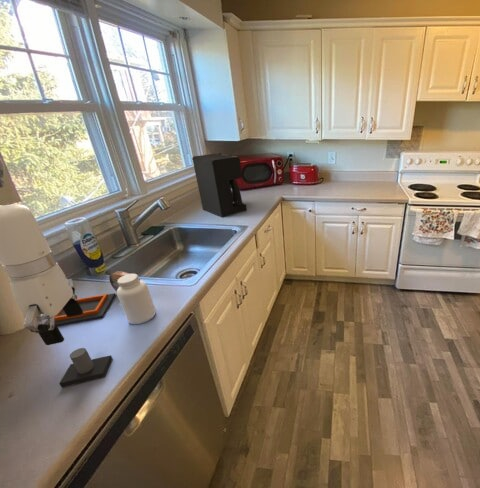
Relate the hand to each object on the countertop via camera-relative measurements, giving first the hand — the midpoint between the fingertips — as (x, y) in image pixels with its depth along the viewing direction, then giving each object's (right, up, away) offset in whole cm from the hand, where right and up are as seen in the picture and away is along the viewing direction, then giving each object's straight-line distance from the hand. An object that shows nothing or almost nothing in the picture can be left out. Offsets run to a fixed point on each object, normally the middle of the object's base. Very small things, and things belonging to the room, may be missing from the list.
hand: (66, 328), depth 65 cm
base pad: (-21, -3, +29) cm, 36 cm away
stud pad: (0, -13, +6) cm, 15 cm away
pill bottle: (+1, -4, +26) cm, 26 cm away
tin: (-11, +1, +38) cm, 39 cm away
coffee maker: (-5, +42, +122) cm, 129 cm away
